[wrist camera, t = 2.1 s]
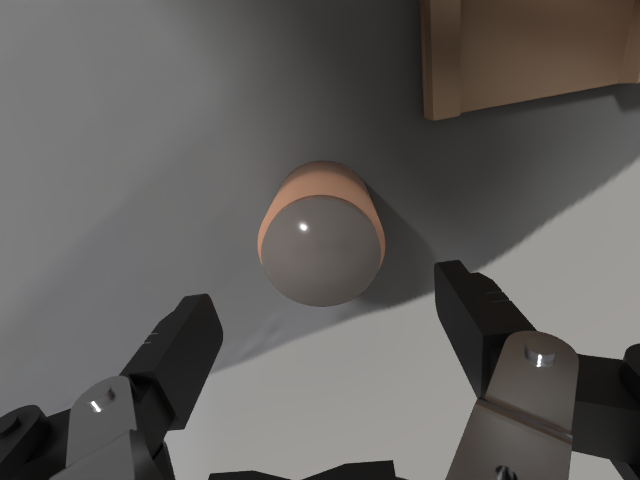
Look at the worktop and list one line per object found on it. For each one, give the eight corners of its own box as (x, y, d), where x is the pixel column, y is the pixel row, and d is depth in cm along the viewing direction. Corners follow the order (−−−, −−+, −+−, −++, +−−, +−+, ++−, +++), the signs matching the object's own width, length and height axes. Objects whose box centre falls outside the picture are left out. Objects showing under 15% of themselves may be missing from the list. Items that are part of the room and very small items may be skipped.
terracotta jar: (265, 170, 18) (237, 206, 12) (364, 152, 17) (381, 182, 12) (287, 257, 20) (272, 319, 15) (375, 243, 19) (393, 303, 14)
